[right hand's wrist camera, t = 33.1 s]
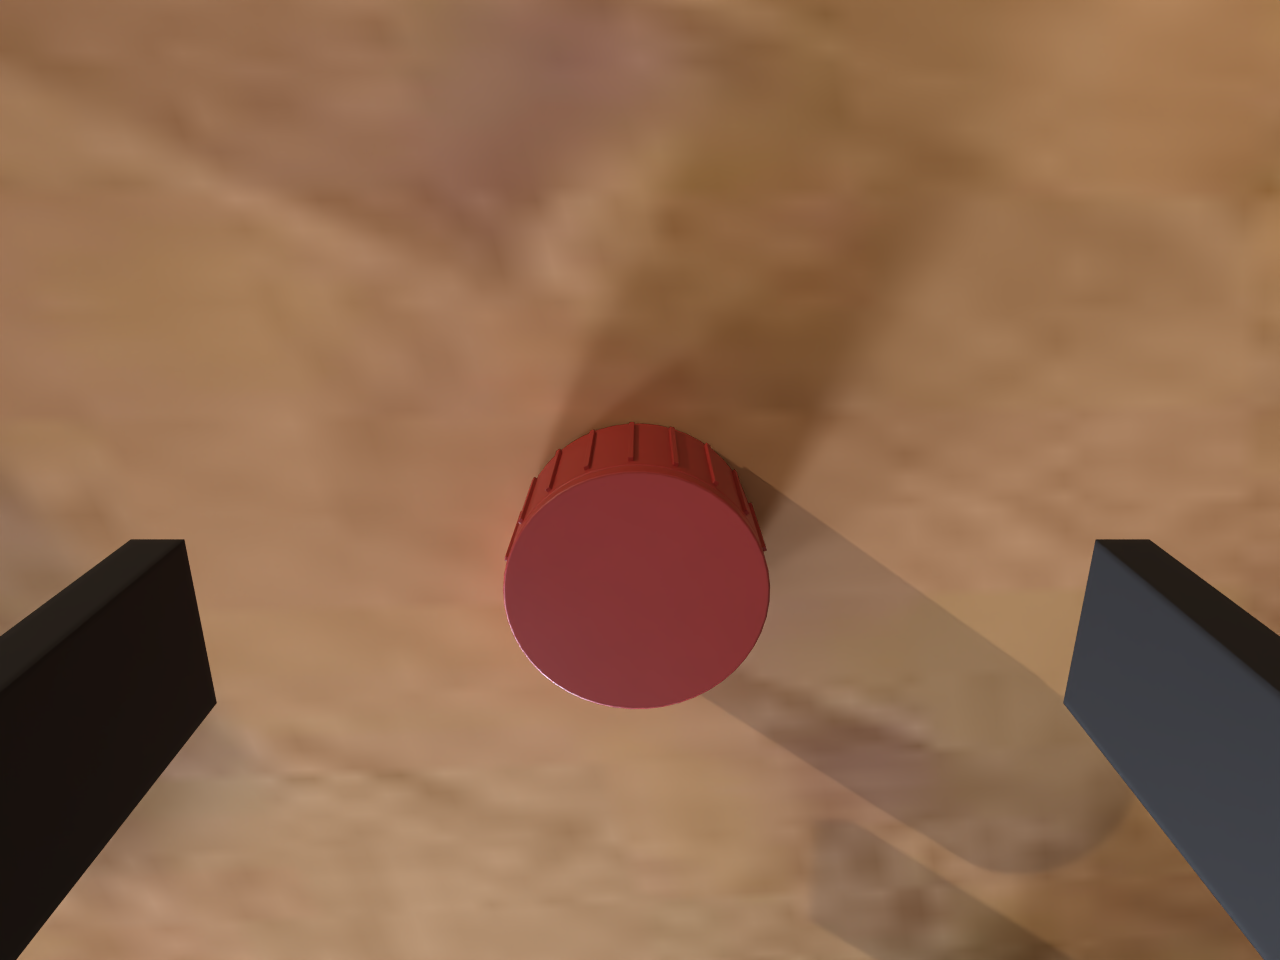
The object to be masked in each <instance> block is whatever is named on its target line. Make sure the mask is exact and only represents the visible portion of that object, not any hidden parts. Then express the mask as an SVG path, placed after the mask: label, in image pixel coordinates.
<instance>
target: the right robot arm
mask: <svg viewBox="0 0 1280 960" xmlns="http://www.w3.org/2000/svg"><path fill="white" fill-rule="evenodd" d="M216 703H217V702H216V697H215V692H214V687H213V682H212V677H211V672H210V667H209V662H208V657H207V652H206V647H205V642H204V637H203V631H202V626H201V621H200V616H199V611H198V606H197V601H196V596H195V591H194V586H193V581H192V576H191V571H190V566H189V561H188V556H187V551H186V546H185V541H184V540H130V541H128V542H127V543H125V544H124V545H123V546H121V547H120V548H119V549H117V550H116V551H115V552H113V553H112V554H111V555H109V556H108V557H107V558H105V559H104V560H103V561H101V562H100V563H99V564H97V565H96V566H95V567H93V568H92V569H90V570H89V571H88V572H86V573H85V574H84V575H82V576H81V577H80V578H78V579H77V580H76V581H74V582H73V583H72V584H70V585H69V586H68V587H66V588H65V589H64V590H62V591H61V592H59V593H58V594H57V595H55V596H54V597H53V598H51V599H50V600H49V601H47V602H46V603H45V604H43V605H42V606H41V607H39V608H38V609H37V610H35V611H34V612H33V613H31V614H30V615H29V616H27V617H26V618H24V619H23V620H22V621H20V622H19V623H18V624H16V625H15V626H14V627H12V628H11V629H10V630H8V631H7V632H6V633H4V634H3V635H2V636H0V960H16V959H17V958H18V957H19V955H20V954H21V953H22V952H23V950H24V949H25V948H26V946H27V945H28V944H29V943H30V941H31V940H32V939H33V937H34V936H35V935H36V934H37V932H38V931H39V930H40V928H41V927H42V926H43V925H44V923H45V922H46V921H47V920H48V918H49V917H50V916H51V914H52V913H53V912H54V911H55V909H56V908H57V907H58V905H59V904H60V903H61V902H62V900H63V899H64V898H65V896H66V895H67V894H68V893H69V891H70V890H71V889H72V888H73V886H74V885H75V884H76V882H77V881H78V880H79V879H80V877H81V876H82V875H83V873H84V872H85V871H86V870H87V868H88V867H89V866H90V865H91V863H92V862H93V861H94V859H95V858H96V857H97V856H98V854H99V853H100V852H101V850H102V849H103V848H104V847H105V845H106V844H107V843H108V841H109V840H110V839H111V838H112V836H113V835H114V834H115V833H116V831H117V830H118V829H119V827H120V826H121V825H122V824H123V822H124V821H125V820H126V818H127V817H128V816H129V815H130V813H131V812H132V811H133V809H134V808H135V807H136V806H137V804H138V803H139V802H140V801H141V799H142V798H143V797H144V795H145V794H146V793H147V792H148V790H149V789H150V788H151V786H152V785H153V784H154V783H155V781H156V780H157V779H158V778H159V776H160V775H161V774H162V772H163V771H164V770H165V769H166V767H167V766H168V765H169V763H170V762H171V761H172V760H173V758H174V757H175V756H176V754H177V753H178V752H179V751H180V749H181V748H182V747H183V746H184V744H185V743H186V742H187V740H188V739H189V738H190V737H191V735H192V734H193V733H194V731H195V730H196V729H197V728H198V726H199V725H200V724H201V722H202V721H203V720H204V719H205V717H206V716H207V715H208V714H209V712H210V711H211V710H212V708H213V707H214V706H215V705H216ZM1063 703H1064V705H1065V706H1066V707H1067V708H1068V710H1069V711H1070V712H1071V714H1072V715H1073V716H1074V717H1075V719H1076V720H1077V721H1078V722H1079V724H1080V725H1081V726H1082V728H1083V729H1084V730H1085V731H1086V733H1087V734H1088V735H1089V737H1090V738H1091V739H1092V740H1093V742H1094V743H1095V744H1096V746H1097V747H1098V748H1099V749H1100V751H1101V752H1102V753H1103V754H1104V756H1105V757H1106V758H1107V760H1108V761H1109V762H1110V763H1111V765H1112V766H1113V767H1114V769H1115V770H1116V771H1117V772H1118V774H1119V775H1120V776H1121V777H1122V779H1123V780H1124V781H1125V783H1126V784H1127V785H1128V786H1129V788H1130V789H1131V790H1132V792H1133V793H1134V794H1135V795H1136V797H1137V798H1138V799H1139V801H1140V802H1141V803H1142V804H1143V806H1144V807H1145V808H1146V809H1147V811H1148V812H1149V813H1150V815H1151V816H1152V817H1153V818H1154V820H1155V821H1156V822H1157V824H1158V825H1159V826H1160V827H1161V829H1162V830H1163V831H1164V833H1165V834H1166V835H1167V836H1168V838H1169V839H1170V840H1171V841H1172V843H1173V844H1174V845H1175V847H1176V848H1177V849H1178V850H1179V852H1180V853H1181V854H1182V856H1183V857H1184V858H1185V859H1186V861H1187V862H1188V863H1189V864H1190V866H1191V867H1192V868H1193V870H1194V871H1195V872H1196V873H1197V875H1198V876H1199V877H1200V879H1201V880H1202V881H1203V882H1204V884H1205V885H1206V886H1207V888H1208V889H1209V890H1210V891H1211V893H1212V894H1213V895H1214V896H1215V898H1216V899H1217V900H1218V902H1219V903H1220V904H1221V905H1222V907H1223V908H1224V909H1225V911H1226V912H1227V913H1228V914H1229V916H1230V917H1231V918H1232V920H1233V921H1234V922H1235V923H1236V925H1237V926H1238V927H1239V928H1240V930H1241V931H1242V932H1243V934H1244V935H1245V936H1246V937H1247V939H1248V940H1249V941H1250V943H1251V944H1252V945H1253V946H1254V948H1255V949H1256V950H1257V952H1258V953H1259V954H1260V955H1261V957H1262V958H1263V959H1264V960H1280V636H1278V635H1277V634H1276V633H1274V632H1273V631H1272V630H1270V629H1269V628H1268V627H1266V626H1265V625H1264V624H1262V623H1261V622H1260V621H1258V620H1257V619H1256V618H1254V617H1253V616H1251V615H1250V614H1249V613H1247V612H1246V611H1245V610H1243V609H1242V608H1241V607H1239V606H1238V605H1237V604H1235V603H1234V602H1233V601H1231V600H1230V599H1229V598H1227V597H1226V596H1225V595H1223V594H1222V593H1221V592H1219V591H1218V590H1216V589H1215V588H1214V587H1212V586H1211V585H1210V584H1208V583H1207V582H1206V581H1204V580H1203V579H1202V578H1200V577H1199V576H1198V575H1196V574H1195V573H1194V572H1192V571H1191V570H1190V569H1188V568H1187V567H1185V566H1184V565H1183V564H1181V563H1180V562H1179V561H1177V560H1176V559H1175V558H1173V557H1172V556H1171V555H1169V554H1168V553H1167V552H1165V551H1164V550H1163V549H1161V548H1160V547H1159V546H1157V545H1156V544H1155V543H1153V542H1152V541H1150V540H1096V541H1095V546H1094V551H1093V556H1092V561H1091V566H1090V571H1089V576H1088V581H1087V586H1086V591H1085V596H1084V601H1083V606H1082V611H1081V616H1080V621H1079V626H1078V632H1077V637H1076V642H1075V647H1074V652H1073V657H1072V662H1071V667H1070V672H1069V677H1068V682H1067V687H1066V692H1065V697H1064V702H1063Z"/></svg>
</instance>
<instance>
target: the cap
mask: <svg viewBox="0 0 1280 960" xmlns="http://www.w3.org/2000/svg"><path fill="white" fill-rule="evenodd" d="M763 551H767V550H766V546H765V543H764V540H763V537H762V534H761V531H760V527H759V524H758V521H757V518H756V515H755V512H754V509H753V506H752V503H751V502H750V503H748V501H747V498H746V496H745V493H744V491H743V488H742V486H741V484H740V481H739V477H738V474H737V472H736V470H735V469H734V470H733V471H732V470H731V468H730V467H729V466H728V465H727V463H726V462H725V461H724V460H723V459H722V458H721V457H720V456H719V455H718V454H717V453H716V452H715V451H714V450H712V449H711V447H710V445H709V444H708V443H706V444H704V443H702V442H701V441H699V440H697V439H695V438H694V437H692V436H690V435H688V434H685V433H683V432H680V431H677V430H675V428H674V427H671V426H670V428H667V427H663V426H659V425H650V424H634V422H630V423H629V424H623V425H616V426H610V427H607V428H603V429H600V430H596V431H595V430H591V431H590V433H589V434H587V435H584V436H582V437H580V438H579V439H577V440H575V441H574V442H572V443H570V444H569V445H567V446H566V447H565V448H564V449H562V450H561V449H558V450H557V451H556V454H555V456H554V457H553V458H552V459H551V460H550V461H549V462H548V463H547V465H546V466H545V468H544V469H543V470H542V472H541V473H540V474H539V476H538V478H535V477H534V478H533V480H532V483H531V485H530V488H529V491H528V494H527V497H526V500H525V503H524V506H523V509H522V511H521V512H520V515H519V518H518V521H517V524H516V527H515V530H514V533H513V536H512V538H511V541H510V544H509V547H508V550H507V553H506V556H505V561H507V564H506V568H505V573H504V585H503V594H504V606H505V610H506V614H507V619H508V622H509V625H510V627H511V630H512V633H513V635H514V637H515V639H516V641H517V642H518V644H519V646H520V648H521V650H522V651H523V652H524V654H525V655H526V656H527V658H528V659H529V660H530V662H531V663H532V664H533V665H534V666H535V667H536V668H537V669H538V670H539V671H540V672H541V673H542V674H543V675H544V676H546V677H547V678H548V679H549V680H551V681H552V682H553V683H554V684H556V685H558V686H559V687H561V688H562V689H564V690H566V691H567V692H569V693H571V694H574V695H576V696H578V697H580V698H582V699H585V700H588V701H591V702H594V703H597V704H601V705H606V706H610V707H616V708H626V709H649V708H657V707H664V706H668V705H672V704H677V703H680V702H683V701H686V700H689V699H691V698H694V697H696V696H698V695H700V694H702V693H704V692H706V691H708V690H710V689H711V688H713V687H714V686H716V685H717V684H719V683H720V682H722V681H723V680H724V679H726V678H727V677H728V676H729V675H730V674H731V673H733V672H734V671H735V670H736V669H737V668H738V666H739V665H740V664H741V663H742V662H743V661H744V660H745V659H746V657H747V656H748V654H749V653H750V651H751V650H752V648H753V647H754V645H755V643H756V642H757V640H758V638H759V636H760V634H761V632H762V629H763V626H764V623H765V620H766V617H767V612H768V606H769V598H770V582H769V573H768V567H767V564H766V560H765V556H764V553H763Z"/></svg>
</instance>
